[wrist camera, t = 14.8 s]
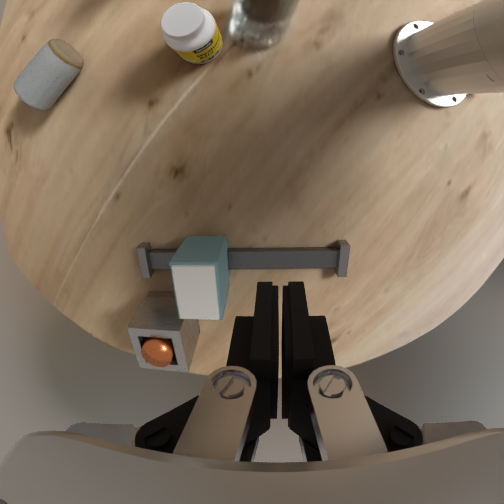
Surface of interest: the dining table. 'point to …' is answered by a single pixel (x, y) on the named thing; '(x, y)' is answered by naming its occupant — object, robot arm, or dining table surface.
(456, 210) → the dining table surface
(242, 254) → the rail
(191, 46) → the supplement bottle
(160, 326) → the grey button box
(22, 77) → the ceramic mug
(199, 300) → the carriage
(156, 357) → the plunger
